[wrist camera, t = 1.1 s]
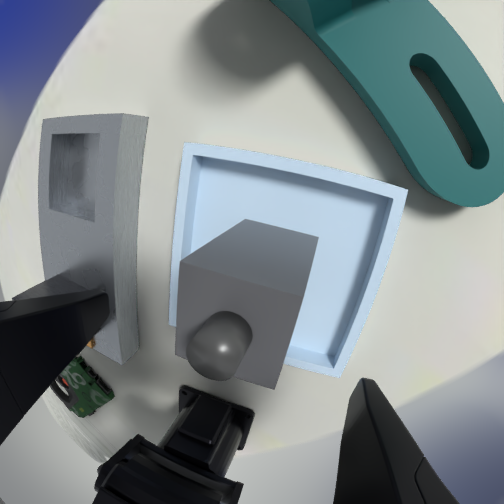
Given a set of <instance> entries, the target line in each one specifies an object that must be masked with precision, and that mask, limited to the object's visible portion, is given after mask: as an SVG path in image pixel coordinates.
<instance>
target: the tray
mask: <svg viewBox="0 0 504 504" xmlns="http://www.w3.org/2000/svg"><path fill="white" fill-rule="evenodd" d="M407 193H408V190H407V189H405V188H402V187H399V186H396V185H393V184H389V183H386V182H383V181H379V180H376V179H372V178H369V177H365V176H362V175H358V174H354V173H350V172H347V171H343V170H339V169H335V168H331V167H326V166H322V165H318V164H314V163H309V162H305V161H300V160H295V159H290V158H286V157H280V156H275V155H270V154H265V153H259V152H253V151H247V150H241V149H235V148H228V147H221V146H214V145H206V144H198V143H187V142H184V149H183V156H182V163H181V170H180V178H179V186H178V195H177V204H176V214H175V224H174V236H173V248H172V263H171V280H170V303H169V325H172V326H174V327H176V314H177V294H178V278H179V264H180V261H181V260H182V259H184V258H185V257H187V256H188V255H190V254H191V253H193V252H194V251H196V250H197V249H199V248H200V247H202V246H204V245H205V244H207V243H208V242H210V241H211V240H213V239H214V238H216V237H218V236H219V235H221V234H222V233H224V232H225V231H227V230H229V229H230V228H232V227H233V226H235V225H236V224H238V223H240V222H241V221H243V220H244V219H249V220H253V221H257V222H261V223H265V224H269V225H273V226H277V227H281V228H285V229H289V230H293V231H297V232H301V233H305V234H309V235H313V236H317V237H319V239H318V243H317V247H316V251H315V255H314V259H313V263H312V267H311V271H310V275H309V279H308V283H307V287H306V290H305V294H304V298H303V301H302V305H301V308H300V311H299V315H298V318H297V322H296V325H295V328H294V331H293V335H292V338H291V341H290V344H289V347H288V350H287V354H286V357H285V360H284V363H283V364H287V365H290V366H294V367H298V368H301V369H305V370H309V371H313V372H317V373H321V374H325V375H329V376H333V377H337V378H340V376H341V374H342V372H343V370H344V368H345V366H346V364H347V362H348V360H349V358H350V356H351V354H352V351H353V349H354V347H355V345H356V343H357V340H358V338H359V336H360V333H361V331H362V329H363V326H364V324H365V322H366V319H367V317H368V314H369V312H370V309H371V307H372V304H373V302H374V299H375V296H376V294H377V291H378V288H379V286H380V283H381V280H382V277H383V275H384V272H385V269H386V266H387V263H388V260H389V257H390V254H391V250H392V247H393V244H394V241H395V238H396V234H397V231H398V227H399V224H400V220H401V217H402V213H403V209H404V205H405V201H406V197H407Z"/></svg>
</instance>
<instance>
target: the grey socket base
mask: <svg viewBox="0 0 504 504" xmlns="http://www.w3.org/2000/svg"><path fill="white" fill-rule="evenodd" d="M148 118H149V117H145V116H138V115H131V114H124V113H120V114H94V115H79V116H67V117H57V118H49V119H43V123H42V132H41V142H40V154H39V175H38V209H39V229H40V242H41V253H42V261H43V269H44V276H45V281H44V282H42V283H40V284H38V285H36V286H34V287H32V288H30V289H28V290H26V291H25V292H23V293H21V294H19V295H17V296H15V297H13V298H12V300H21V299H29V298H36V297H44V296H51V295H58V294H66V293H73V292H80V291H87V290H94V289H100V290H103V291H105V292H107V293H108V296H109V307H110V314H109V317H108V318H107V320H106V321H105V322H104V323H103V325H102V326H101V327H100V329H99V330H98V331H97V332H96V334H95V335H94V336H93V338H92V339H91V340H90V342H89V343H88V344H87V346H88V347H90V348H93V349H95V350H96V351H98V352H100V353H101V354H103V355H105V356H107V357H108V358H110V359H112V360H114V361H115V362H117V363H119V364H121V365H123V364H124V363H125V362H126V361H127V360H128V359H129V358H131V357H132V356H133V355H134V354H135V353H136V352H137V351H138V350H139V338H138V321H137V293H136V251H137V223H138V206H139V192H140V181H141V170H142V161H143V153H144V145H145V138H146V131H147V124H148Z"/></svg>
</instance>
